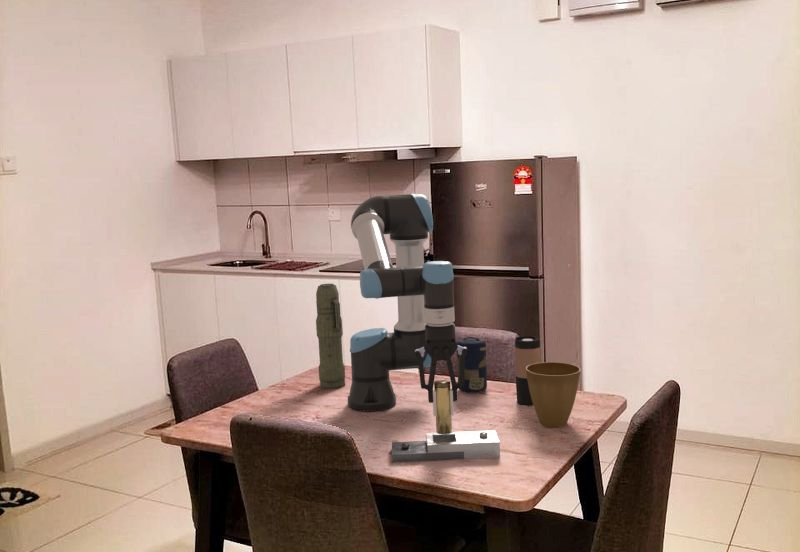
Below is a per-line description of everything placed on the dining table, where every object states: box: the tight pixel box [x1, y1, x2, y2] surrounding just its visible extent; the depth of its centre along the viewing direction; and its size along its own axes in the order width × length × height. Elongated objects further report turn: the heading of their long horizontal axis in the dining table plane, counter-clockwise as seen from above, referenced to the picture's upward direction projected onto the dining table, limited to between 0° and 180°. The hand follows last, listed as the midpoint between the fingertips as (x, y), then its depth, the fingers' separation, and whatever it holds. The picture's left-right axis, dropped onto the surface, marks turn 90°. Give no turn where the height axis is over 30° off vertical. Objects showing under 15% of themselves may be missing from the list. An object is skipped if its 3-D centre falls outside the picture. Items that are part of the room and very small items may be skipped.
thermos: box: [315, 283, 346, 390], centre depth 267 cm, size 9×12×35 cm
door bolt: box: [391, 429, 501, 463], centre depth 200 cm, size 9×27×5 cm, turn 91°
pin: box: [433, 379, 453, 434], centre depth 199 cm, size 4×4×13 cm
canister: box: [456, 336, 488, 394], centre depth 254 cm, size 10×10×18 cm
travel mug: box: [514, 335, 542, 407], centre depth 239 cm, size 8×8×20 cm
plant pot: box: [526, 361, 582, 429], centre depth 219 cm, size 15×15×16 cm
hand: (443, 414), depth 199 cm, fingers closed on pin, 3 cm apart
